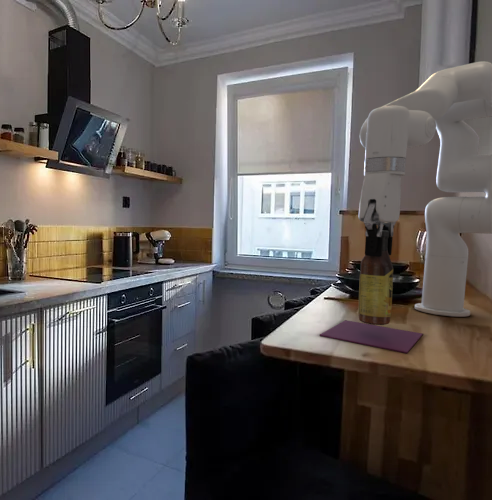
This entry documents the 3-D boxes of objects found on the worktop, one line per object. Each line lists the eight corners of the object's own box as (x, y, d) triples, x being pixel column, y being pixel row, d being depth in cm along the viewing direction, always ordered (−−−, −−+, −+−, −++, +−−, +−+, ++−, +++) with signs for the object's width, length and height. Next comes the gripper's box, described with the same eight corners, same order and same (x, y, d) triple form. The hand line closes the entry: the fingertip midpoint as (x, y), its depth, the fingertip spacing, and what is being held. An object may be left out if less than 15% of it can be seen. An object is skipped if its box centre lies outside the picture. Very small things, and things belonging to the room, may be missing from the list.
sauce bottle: (395, 327, 88) (401, 231, 86) (362, 325, 89) (368, 230, 87) (384, 319, 94) (389, 229, 92) (353, 317, 95) (358, 229, 93)
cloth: (345, 321, 103) (345, 320, 103) (422, 334, 93) (422, 333, 93) (319, 335, 90) (319, 334, 90) (406, 353, 79) (407, 352, 79)
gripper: (380, 172, 97) (375, 252, 98) (348, 165, 86) (342, 255, 87) (418, 170, 91) (411, 255, 93) (388, 163, 80) (381, 259, 82)
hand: (378, 254), depth 90 cm, fingers closed on sauce bottle, 4 cm apart
